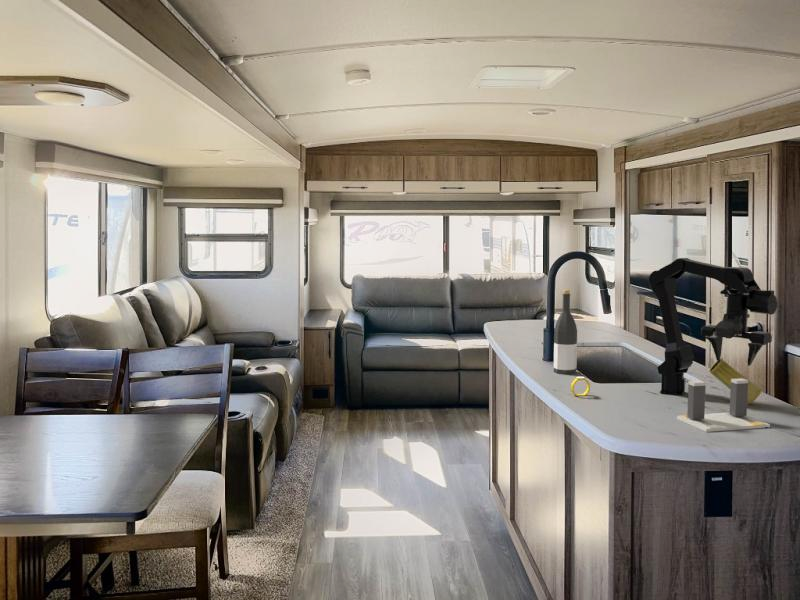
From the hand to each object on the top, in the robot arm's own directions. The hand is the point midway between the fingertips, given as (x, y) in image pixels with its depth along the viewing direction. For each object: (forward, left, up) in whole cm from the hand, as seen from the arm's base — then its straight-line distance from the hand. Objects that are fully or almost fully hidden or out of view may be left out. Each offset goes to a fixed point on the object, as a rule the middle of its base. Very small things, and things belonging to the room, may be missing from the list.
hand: (733, 362), depth 216 cm
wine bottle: (-57, +24, -13) cm, 63 cm away
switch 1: (-7, -24, -12) cm, 28 cm away
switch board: (-1, -22, -13) cm, 26 cm away
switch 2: (+3, -16, -12) cm, 20 cm away
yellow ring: (-43, -8, -13) cm, 46 cm away
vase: (+6, +4, -10) cm, 13 cm away
